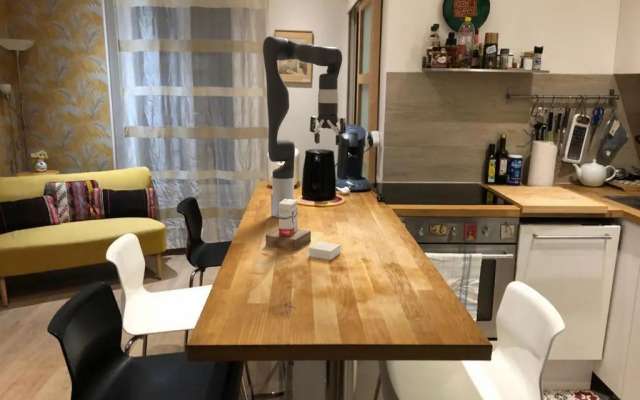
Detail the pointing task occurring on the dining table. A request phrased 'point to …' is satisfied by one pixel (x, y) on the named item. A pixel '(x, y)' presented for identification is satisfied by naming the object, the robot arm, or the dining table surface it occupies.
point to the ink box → (288, 217)
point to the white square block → (324, 250)
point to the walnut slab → (288, 239)
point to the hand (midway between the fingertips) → (327, 144)
